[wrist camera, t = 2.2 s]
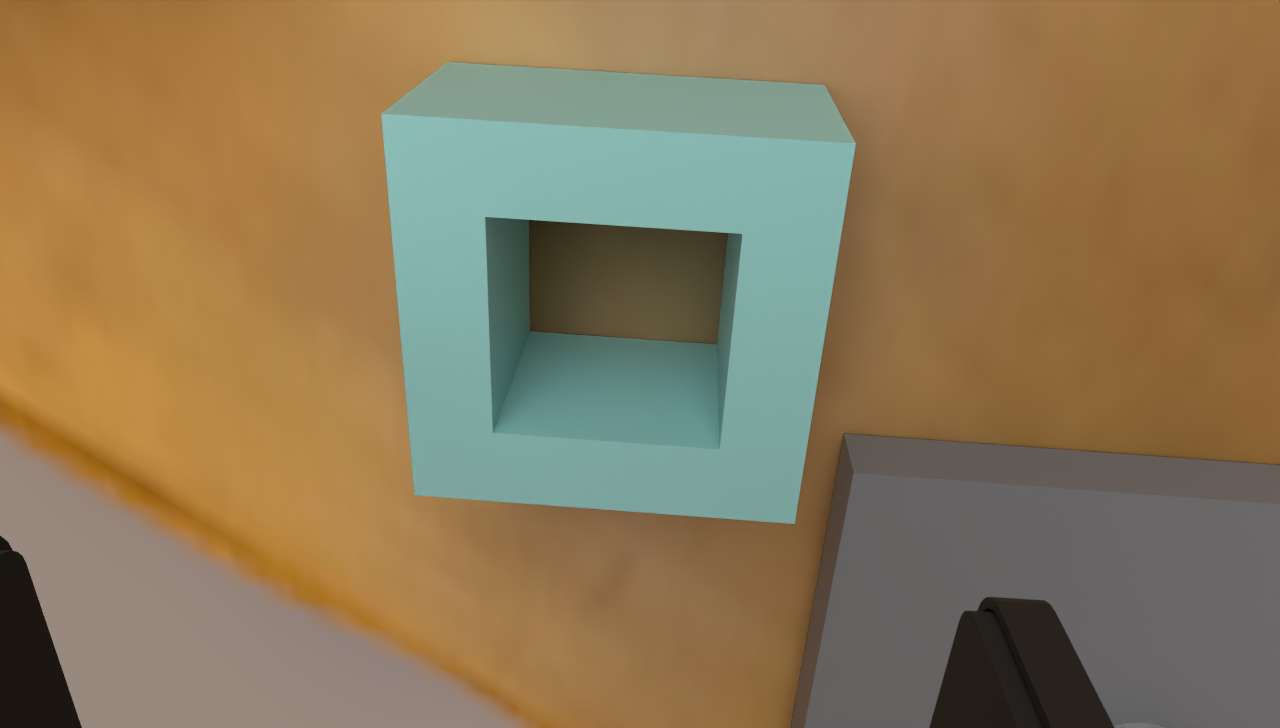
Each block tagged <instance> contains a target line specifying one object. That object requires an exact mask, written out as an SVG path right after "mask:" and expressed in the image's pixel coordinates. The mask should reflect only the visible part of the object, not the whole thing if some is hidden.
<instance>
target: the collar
mask: <svg viewBox="0 0 1280 728" xmlns="http://www.w3.org/2000/svg"><path fill="white" fill-rule="evenodd" d="M381 117H382V128H383V140H384V151H385V163H386V174H387V185H388V197H389V208H390V220H391V231H392V243H393V254H394V266H395V277H396V289H397V300H398V311H399V323H400V334H401V346H402V357H403V369H404V380H405V392H406V403H407V415H408V426H409V438H410V449H411V460H412V472H413V483H414V495H418V496H431V497H445V498H458V499H471V500H484V501H498V502H511V503H524V504H537V505H551V506H564V507H577V508H590V509H604V510H617V511H630V512H643V513H657V514H670V515H683V516H696V517H710V518H723V519H736V520H749V521H762V522H776V523H789V524H795V519H796V513H797V506H798V500H799V494H800V488H801V482H802V475H803V469H804V463H805V457H806V450H807V444H808V438H809V432H810V426H811V419H812V413H813V407H814V401H815V395H816V388H817V382H818V376H819V370H820V363H821V357H822V351H823V345H824V339H825V332H826V326H827V320H828V314H829V308H830V301H831V295H832V289H833V283H834V276H835V270H836V264H837V258H838V252H839V245H840V239H841V233H842V227H843V221H844V214H845V208H846V202H847V196H848V189H849V183H850V177H851V171H852V165H853V158H854V152H855V146H856V143H855V141H854V139H853V137H852V135H851V134H850V132H849V130H848V128H847V126H846V124H845V122H844V120H843V119H842V117H841V115H840V113H839V111H838V109H837V107H836V105H835V103H834V102H833V100H832V98H831V96H830V94H829V92H828V90H827V88H826V87H825V85H819V84H802V83H786V82H769V81H753V80H737V79H720V78H704V77H687V76H671V75H654V74H638V73H622V72H605V71H589V70H572V69H556V68H540V67H523V66H507V65H490V64H474V63H457V62H446V63H445V64H444V65H442V66H441V67H440V68H439V69H437V70H436V71H435V72H434V73H432V74H431V75H430V76H429V77H427V78H426V79H425V80H423V81H422V82H421V83H420V84H418V85H417V86H416V87H415V88H413V89H412V90H411V91H410V92H408V93H407V94H406V95H404V96H403V97H402V98H401V99H399V100H398V101H397V102H396V103H394V104H393V105H392V106H391V107H389V108H388V109H387V110H386V111H384V112H383V113H382V114H381ZM529 220H540V221H555V222H570V223H585V224H600V225H616V226H631V227H646V228H661V229H676V230H691V231H706V232H722V233H728V236H727V247H726V257H725V267H724V277H723V287H722V298H721V308H720V318H719V328H718V338H717V344H705V343H691V342H676V341H662V340H648V339H633V338H619V337H605V336H590V335H576V334H562V333H547V332H533V331H530V274H529Z"/></svg>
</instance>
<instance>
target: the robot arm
mask: <svg viewBox="0 0 1280 728" xmlns="http://www.w3.org/2000/svg"><path fill="white" fill-rule="evenodd" d="M0 728H82V727H81V724H80V721H79V718H78V715H77V712H76V709H75V707H74V703H73V701H72V698H71V695H70V692H69V689H68V686H67V683H66V680H65V677H64V674H63V671H62V668H61V665H60V662H59V659H58V656H57V653H56V650H55V648H54V644H53V642H52V638H51V635H50V632H49V630H48V627H47V624H46V621H45V618H44V615H43V612H42V609H41V606H40V603H39V600H38V597H37V594H36V591H35V588H34V585H33V582H32V579H31V576H30V573H29V570H28V567H27V565H26V562H25V560H24V558H23V556H22V555H21V554H19V553H18V552H15V551H13V550H12V548H11V547H10V545H9V543H8V542H7V541H6V540H5V539H4V538H2V537H1V536H0ZM929 728H1114V726H1113V724H1112V722H1111V720H1110V718H1109V716H1108V714H1107V712H1106V710H1105V708H1104V706H1103V704H1102V702H1101V700H1100V698H1099V696H1098V694H1097V692H1096V690H1095V688H1094V686H1093V684H1092V682H1091V681H1090V679H1089V677H1088V675H1087V673H1086V671H1085V669H1084V667H1083V665H1082V663H1081V661H1080V659H1079V657H1078V655H1077V653H1076V651H1075V649H1074V647H1073V645H1072V643H1071V641H1070V639H1069V637H1068V635H1067V633H1066V631H1065V629H1064V628H1063V626H1062V624H1061V622H1060V620H1059V618H1058V616H1057V614H1056V612H1055V610H1054V609H1053V607H1052V606H1051V605H1050V604H1049V603H1048V602H1046V601H1045V600H1032V599H1016V598H999V597H986V598H984V599H983V600H982V601H981V603H980V605H979V608H978V610H977V611H964V612H963V614H962V615H961V617H960V620H959V623H958V627H957V630H956V634H955V637H954V641H953V645H952V648H951V652H950V655H949V659H948V663H947V666H946V670H945V673H944V677H943V681H942V684H941V688H940V691H939V695H938V698H937V702H936V706H935V709H934V713H933V716H932V720H931V724H930V727H929Z"/></svg>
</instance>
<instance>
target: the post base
mask: <svg viewBox="0 0 1280 728" xmlns="http://www.w3.org/2000/svg"><path fill="white" fill-rule="evenodd" d="M986 597H999V598H1016V599H1032V600H1045V601H1046V602H1048V603H1049V604H1050V605H1051V606H1052V607H1053V609H1054V610H1055V612H1056V614H1057V616H1058V618H1059V620H1060V622H1061V624H1062V626H1063V628H1064V629H1065V631H1066V633H1067V635H1068V637H1069V639H1070V641H1071V643H1072V645H1073V647H1074V649H1075V651H1076V653H1077V655H1078V657H1079V659H1080V661H1081V663H1082V665H1083V667H1084V669H1085V671H1086V673H1087V675H1088V677H1089V679H1090V681H1091V682H1092V684H1093V686H1094V688H1095V690H1096V692H1097V694H1098V696H1099V698H1100V700H1101V702H1102V704H1103V706H1104V708H1105V710H1106V712H1107V714H1108V716H1109V718H1110V720H1111V722H1112V724H1113V726H1114V728H1280V465H1271V464H1257V463H1243V462H1229V461H1216V460H1202V459H1188V458H1174V457H1160V456H1146V455H1133V454H1119V453H1105V452H1091V451H1077V450H1064V449H1050V448H1036V447H1022V446H1008V445H994V444H981V443H967V442H953V441H939V440H925V439H912V438H898V437H884V436H870V435H856V434H844V437H843V442H842V448H841V453H840V459H839V464H838V470H837V475H836V481H835V486H834V492H833V497H832V503H831V508H830V514H829V519H828V524H827V530H826V535H825V541H824V546H823V552H822V557H821V563H820V568H819V574H818V579H817V585H816V590H815V596H814V601H813V607H812V612H811V618H810V623H809V629H808V634H807V640H806V645H805V650H804V656H803V661H802V667H801V672H800V678H799V683H798V689H797V694H796V700H795V705H794V711H793V716H792V722H791V727H790V728H929V727H930V724H931V720H932V716H933V713H934V709H935V706H936V702H937V698H938V695H939V691H940V688H941V684H942V681H943V677H944V673H945V670H946V666H947V663H948V659H949V655H950V652H951V648H952V645H953V641H954V637H955V634H956V630H957V627H958V623H959V620H960V617H961V615H962V614H963V612H964V611H977V610H978V608H979V605H980V603H981V601H982V600H983V599H984V598H986Z"/></svg>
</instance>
